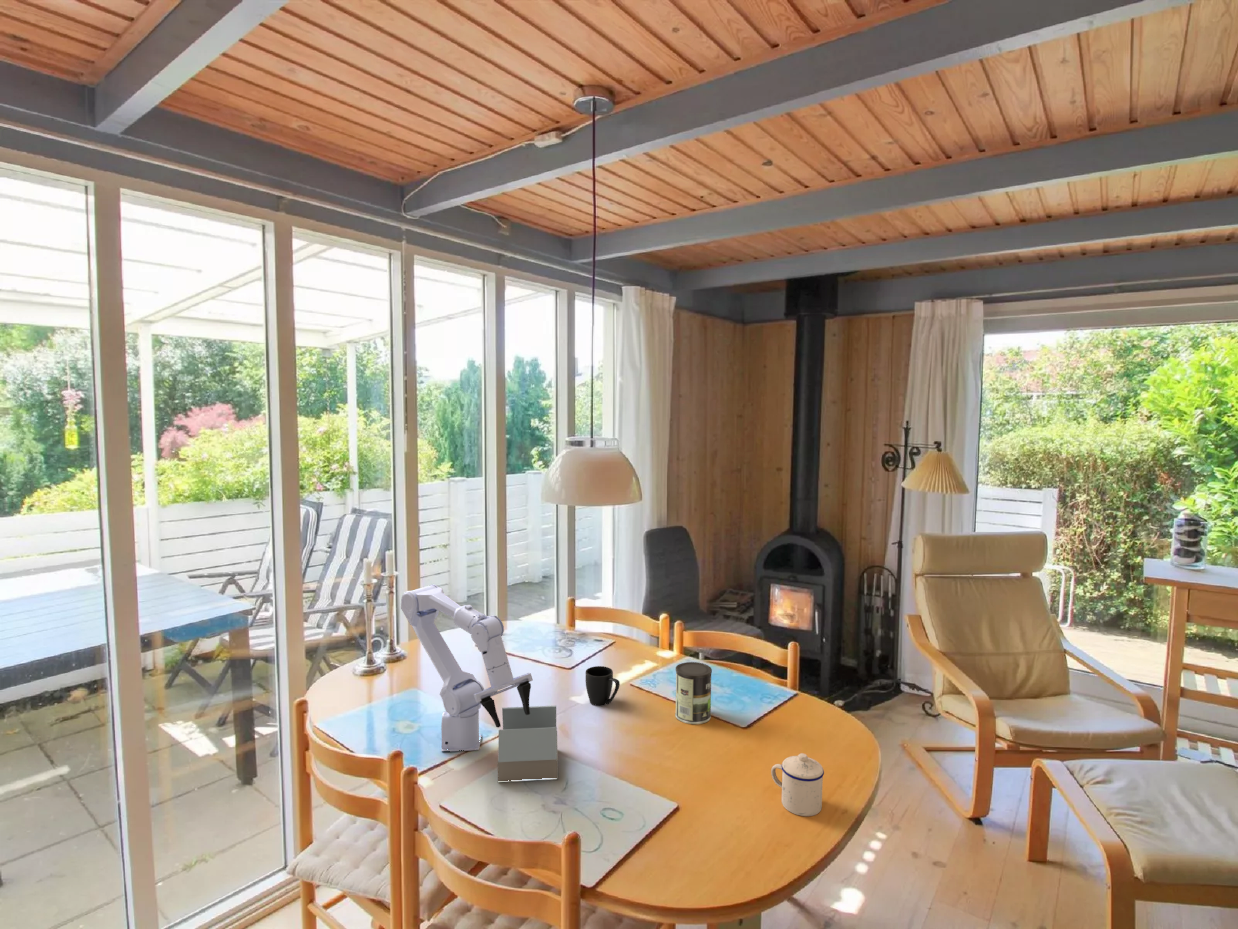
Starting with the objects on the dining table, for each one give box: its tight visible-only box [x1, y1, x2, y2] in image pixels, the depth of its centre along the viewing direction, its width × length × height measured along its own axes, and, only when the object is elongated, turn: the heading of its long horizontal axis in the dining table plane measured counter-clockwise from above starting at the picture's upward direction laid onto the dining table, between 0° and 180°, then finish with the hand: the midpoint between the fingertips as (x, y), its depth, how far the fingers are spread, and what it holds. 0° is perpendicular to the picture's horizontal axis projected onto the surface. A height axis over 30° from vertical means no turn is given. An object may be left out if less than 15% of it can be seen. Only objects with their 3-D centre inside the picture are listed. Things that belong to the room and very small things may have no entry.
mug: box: [585, 665, 621, 707], centre depth 195 cm, size 8×12×10 cm
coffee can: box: [674, 661, 713, 725], centre depth 187 cm, size 10×10×14 cm
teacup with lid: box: [770, 752, 825, 817], centre depth 146 cm, size 12×9×12 cm
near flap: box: [497, 726, 558, 763], centre depth 154 cm, size 14×7×1 cm
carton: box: [497, 753, 559, 782], centre depth 161 cm, size 14×14×5 cm
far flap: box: [501, 705, 557, 730], centre depth 167 cm, size 14×7×1 cm
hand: (513, 720), depth 161 cm, fingers open, 7 cm apart
